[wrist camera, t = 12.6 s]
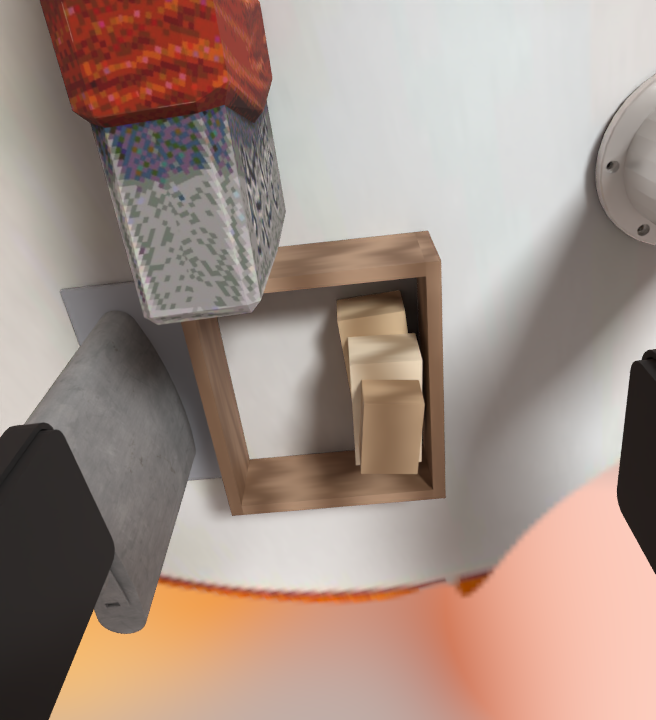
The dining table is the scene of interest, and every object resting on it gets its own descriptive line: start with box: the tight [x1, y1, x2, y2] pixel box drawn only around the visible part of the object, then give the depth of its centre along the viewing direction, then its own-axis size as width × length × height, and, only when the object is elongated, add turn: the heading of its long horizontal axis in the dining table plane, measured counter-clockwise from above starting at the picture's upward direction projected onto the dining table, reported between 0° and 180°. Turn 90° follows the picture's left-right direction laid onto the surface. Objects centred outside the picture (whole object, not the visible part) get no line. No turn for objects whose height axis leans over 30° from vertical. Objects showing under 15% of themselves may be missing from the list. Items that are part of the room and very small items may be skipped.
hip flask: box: [24, 311, 196, 634], centre depth 43 cm, size 16×4×20 cm, turn 14°
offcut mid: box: [348, 333, 422, 465], centre depth 46 cm, size 5×9×4 cm, turn 4°
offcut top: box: [359, 380, 425, 474], centre depth 43 cm, size 4×6×3 cm, turn 0°
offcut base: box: [337, 290, 408, 399], centre depth 49 cm, size 5×12×4 cm, turn 10°
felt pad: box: [60, 282, 222, 480], centre depth 52 cm, size 9×20×1 cm, turn 6°
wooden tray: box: [181, 231, 446, 516], centre depth 48 cm, size 18×21×6 cm
